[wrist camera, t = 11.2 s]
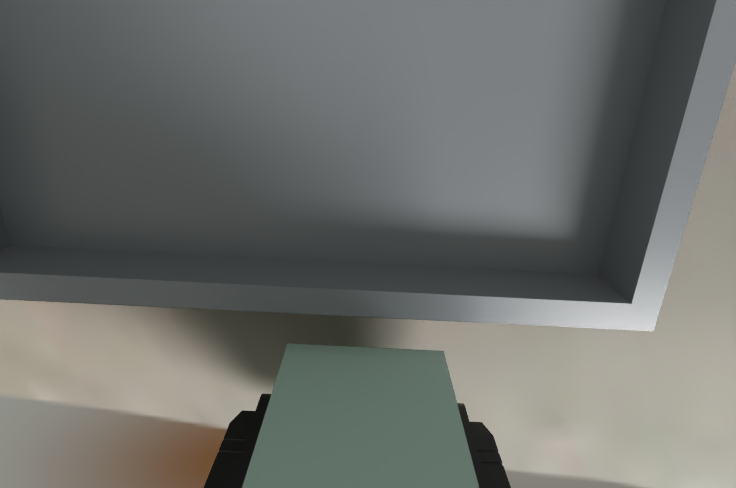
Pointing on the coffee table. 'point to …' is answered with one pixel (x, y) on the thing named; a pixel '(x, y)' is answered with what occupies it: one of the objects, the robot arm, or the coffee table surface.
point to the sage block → (361, 422)
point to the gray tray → (357, 154)
